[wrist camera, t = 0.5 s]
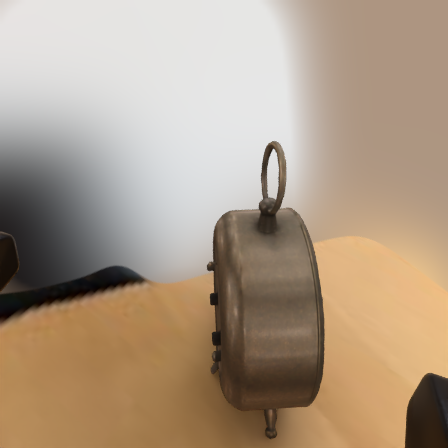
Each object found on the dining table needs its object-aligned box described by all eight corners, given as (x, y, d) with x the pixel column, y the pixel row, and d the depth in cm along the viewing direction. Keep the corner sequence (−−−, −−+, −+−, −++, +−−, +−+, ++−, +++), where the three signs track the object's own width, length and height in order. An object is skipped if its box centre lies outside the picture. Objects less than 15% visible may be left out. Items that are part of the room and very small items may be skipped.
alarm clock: (303, 458, 21) (389, 209, 12) (206, 462, 21) (223, 207, 12) (270, 311, 30) (305, 107, 21) (202, 312, 30) (209, 103, 21)
